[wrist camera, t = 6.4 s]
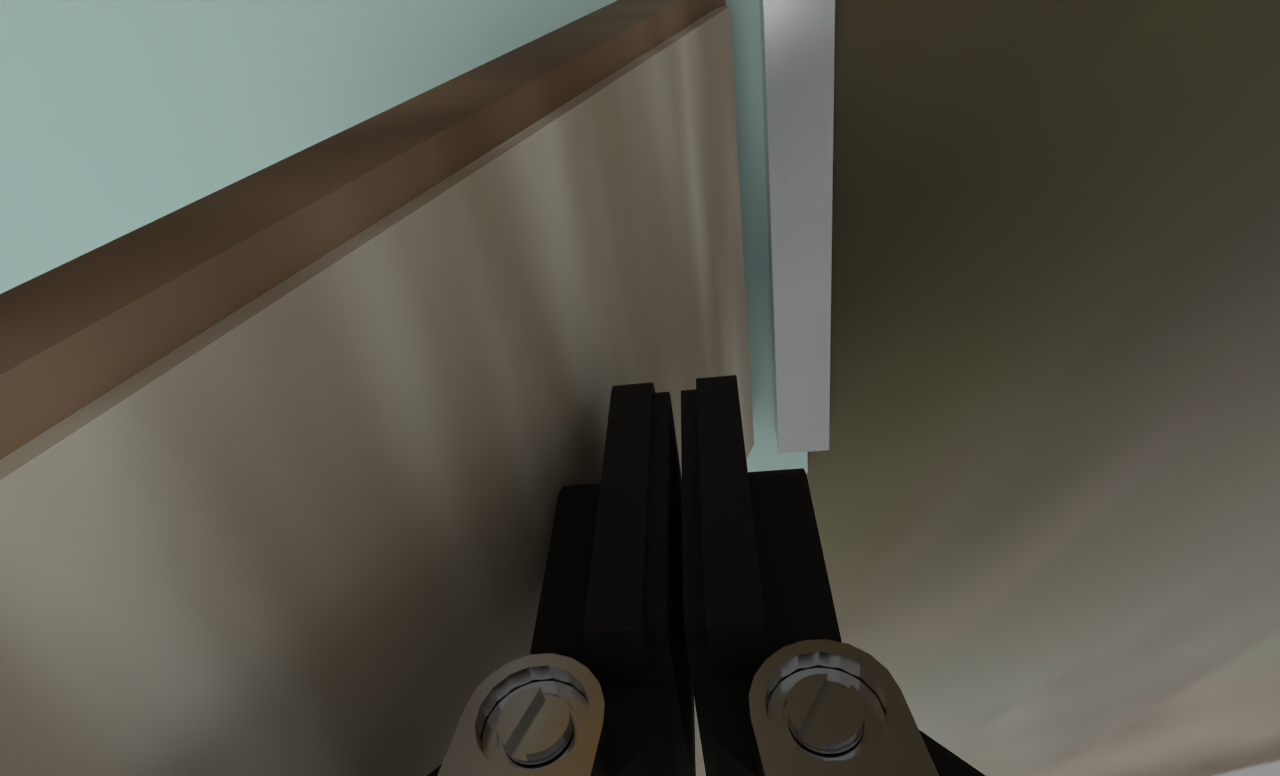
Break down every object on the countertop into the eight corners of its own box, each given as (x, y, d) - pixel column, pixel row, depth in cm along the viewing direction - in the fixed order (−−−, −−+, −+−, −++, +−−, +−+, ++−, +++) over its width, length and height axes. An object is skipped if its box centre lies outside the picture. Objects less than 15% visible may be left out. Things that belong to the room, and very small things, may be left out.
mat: (800, -185, 13) (802, -186, 12) (805, 466, 21) (807, 473, 20) (-257, -19, 15) (-272, -17, 15) (114, 511, 23) (108, 518, 23)
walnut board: (735, -26, 13) (-563, 712, 3) (760, 446, 18) (376, 1257, 8) (657, -19, 13) (-658, 609, 3) (704, 436, 19) (282, 1186, 9)
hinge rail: (825, -82, 13) (836, -77, 13) (821, 419, 20) (829, 450, 19) (755, -72, 14) (761, -67, 13) (773, 423, 20) (778, 453, 19)
